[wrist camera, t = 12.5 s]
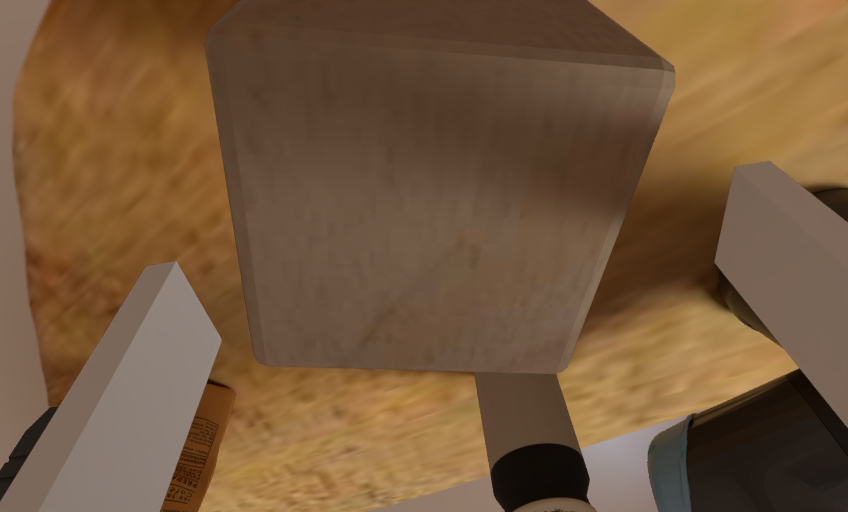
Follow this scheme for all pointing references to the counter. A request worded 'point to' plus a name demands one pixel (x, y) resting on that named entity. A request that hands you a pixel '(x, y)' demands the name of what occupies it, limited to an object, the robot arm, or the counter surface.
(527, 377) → the travel mug
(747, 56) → the counter surface
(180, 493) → the coffee package
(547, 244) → the wooden block
